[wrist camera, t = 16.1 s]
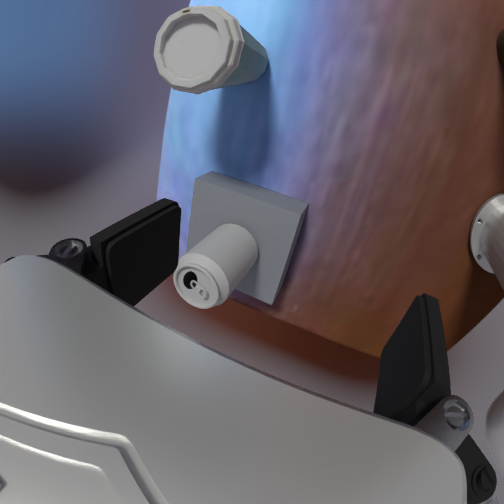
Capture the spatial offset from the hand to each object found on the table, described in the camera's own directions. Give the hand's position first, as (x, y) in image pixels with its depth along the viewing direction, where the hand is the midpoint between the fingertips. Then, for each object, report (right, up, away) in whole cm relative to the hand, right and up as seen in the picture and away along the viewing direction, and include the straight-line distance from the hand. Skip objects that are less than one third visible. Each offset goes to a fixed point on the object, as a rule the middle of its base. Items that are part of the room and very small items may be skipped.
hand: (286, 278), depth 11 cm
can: (-3, +2, +34) cm, 34 cm away
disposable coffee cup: (-2, +28, +25) cm, 38 cm away
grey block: (-2, +4, +38) cm, 38 cm away
